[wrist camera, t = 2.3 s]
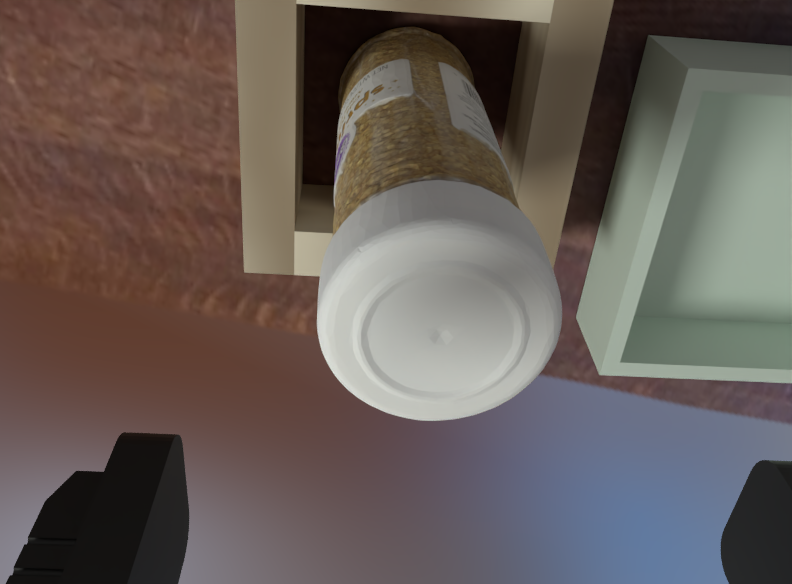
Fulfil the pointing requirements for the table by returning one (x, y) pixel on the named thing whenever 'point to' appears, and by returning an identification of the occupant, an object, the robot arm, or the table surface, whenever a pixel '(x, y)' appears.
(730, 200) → the tray
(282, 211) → the socket block
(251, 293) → the table surface
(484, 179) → the sprinkles bottle
